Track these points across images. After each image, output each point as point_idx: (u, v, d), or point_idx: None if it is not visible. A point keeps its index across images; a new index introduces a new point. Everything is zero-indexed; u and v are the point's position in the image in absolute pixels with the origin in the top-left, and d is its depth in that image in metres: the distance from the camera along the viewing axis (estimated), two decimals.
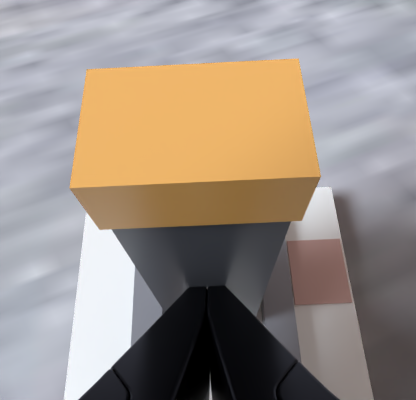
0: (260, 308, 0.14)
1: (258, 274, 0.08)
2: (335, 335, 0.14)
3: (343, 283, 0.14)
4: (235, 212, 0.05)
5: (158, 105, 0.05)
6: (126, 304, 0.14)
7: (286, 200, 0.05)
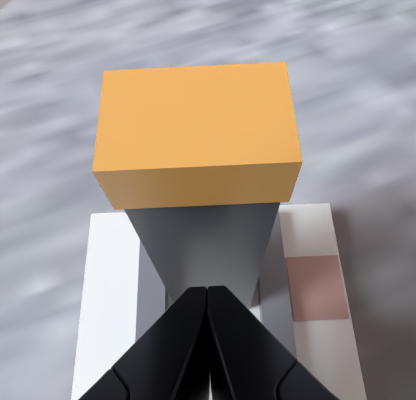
0: None
1: (253, 254, 0.09)
2: (332, 351, 0.14)
3: (340, 299, 0.15)
4: (231, 193, 0.06)
5: (165, 102, 0.06)
6: (129, 319, 0.15)
7: (274, 182, 0.06)
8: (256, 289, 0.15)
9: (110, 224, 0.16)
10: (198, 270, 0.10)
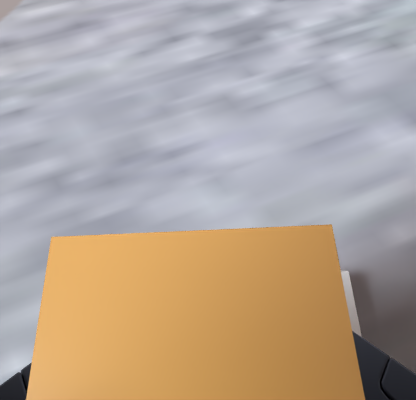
0: None
1: None
2: None
3: None
4: None
5: (145, 301, 0.04)
6: None
7: None
8: None
9: None
10: None
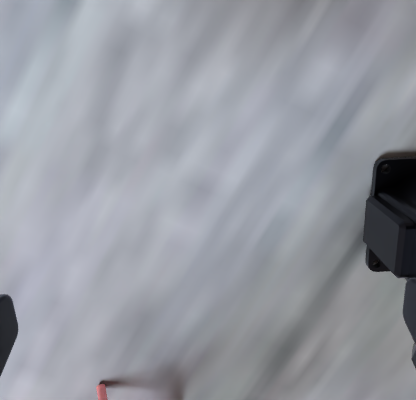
0: None
1: None
2: None
3: None
4: None
5: None
6: None
7: None
8: None
9: None
10: None
